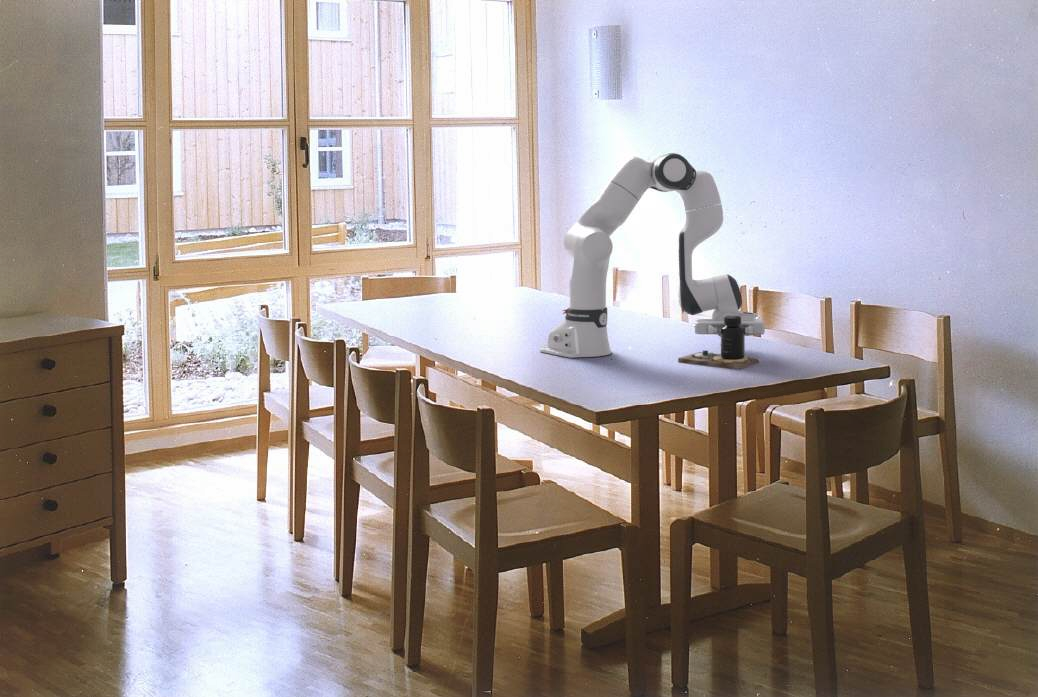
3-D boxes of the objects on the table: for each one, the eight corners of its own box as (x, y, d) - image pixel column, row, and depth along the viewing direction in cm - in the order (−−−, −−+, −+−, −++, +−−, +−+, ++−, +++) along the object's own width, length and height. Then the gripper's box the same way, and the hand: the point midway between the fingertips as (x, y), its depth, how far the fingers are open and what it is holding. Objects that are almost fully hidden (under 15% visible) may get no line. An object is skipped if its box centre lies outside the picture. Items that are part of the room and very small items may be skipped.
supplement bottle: (730, 354, 356) (731, 314, 354) (749, 357, 351) (750, 316, 349) (715, 358, 352) (716, 317, 349) (734, 361, 347) (734, 319, 344)
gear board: (678, 362, 356) (678, 352, 355) (699, 355, 365) (700, 346, 364) (738, 369, 343) (738, 359, 343) (759, 363, 352) (759, 352, 352)
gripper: (693, 313, 363) (694, 320, 350) (762, 313, 361) (766, 320, 347) (692, 334, 364) (694, 342, 351) (762, 334, 362) (766, 342, 348)
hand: (731, 331), depth 349 cm, fingers open, 8 cm apart
